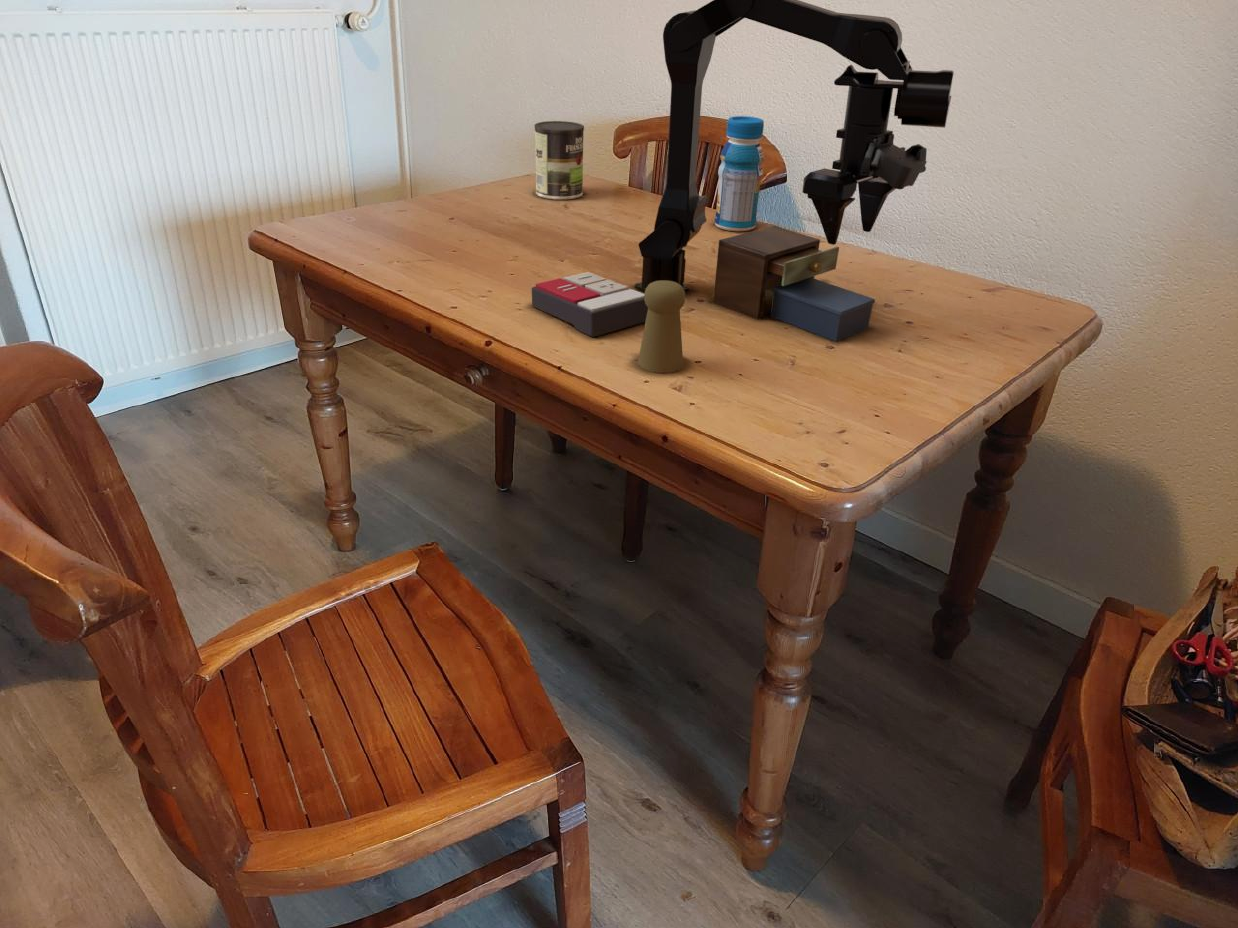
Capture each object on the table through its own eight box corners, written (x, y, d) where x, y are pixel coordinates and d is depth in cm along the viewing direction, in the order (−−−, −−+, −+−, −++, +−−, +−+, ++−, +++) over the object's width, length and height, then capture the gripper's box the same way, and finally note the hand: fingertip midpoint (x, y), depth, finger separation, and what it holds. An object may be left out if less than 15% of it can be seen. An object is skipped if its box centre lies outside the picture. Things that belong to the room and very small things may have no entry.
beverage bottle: (729, 234, 167) (741, 124, 157) (705, 223, 173) (714, 116, 163) (765, 229, 171) (778, 122, 160) (739, 218, 177) (750, 114, 166)
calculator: (588, 269, 136) (652, 292, 126) (588, 295, 138) (651, 320, 128) (529, 282, 130) (592, 308, 119) (531, 310, 132) (592, 337, 122)
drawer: (790, 288, 124) (793, 265, 122) (737, 270, 130) (739, 247, 128) (842, 271, 131) (846, 249, 130) (790, 254, 137) (793, 233, 136)
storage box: (836, 342, 124) (841, 311, 121) (768, 316, 131) (772, 287, 129) (869, 328, 129) (875, 299, 126) (802, 304, 136) (807, 276, 134)
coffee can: (592, 193, 190) (593, 125, 183) (565, 202, 183) (566, 132, 175) (553, 185, 194) (552, 118, 187) (525, 194, 187) (524, 125, 179)
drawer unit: (757, 319, 130) (765, 255, 125) (712, 302, 136) (718, 240, 131) (810, 300, 138) (820, 239, 133) (766, 285, 143) (774, 225, 138)
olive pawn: (635, 354, 118) (639, 275, 112) (679, 353, 118) (685, 275, 113) (640, 373, 113) (644, 291, 107) (686, 373, 113) (693, 292, 107)
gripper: (883, 139, 107) (864, 264, 115) (954, 122, 118) (933, 236, 126) (807, 128, 113) (794, 246, 121) (881, 112, 125) (865, 221, 133)
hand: (849, 237), depth 125 cm, fingers open, 9 cm apart
